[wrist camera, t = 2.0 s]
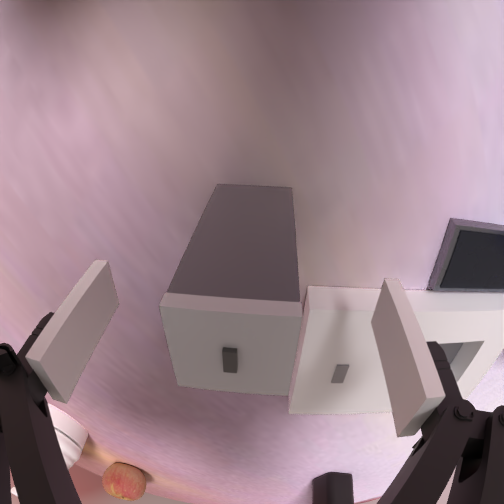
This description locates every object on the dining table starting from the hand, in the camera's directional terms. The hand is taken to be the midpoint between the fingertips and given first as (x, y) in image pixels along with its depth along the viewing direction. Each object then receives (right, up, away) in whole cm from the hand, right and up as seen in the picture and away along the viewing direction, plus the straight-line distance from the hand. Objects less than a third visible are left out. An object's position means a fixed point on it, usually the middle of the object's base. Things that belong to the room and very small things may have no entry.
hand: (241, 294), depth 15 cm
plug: (+1, +4, +6) cm, 7 cm away
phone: (+19, +2, +5) cm, 20 cm away
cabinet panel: (+14, -7, +11) cm, 20 cm away
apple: (-24, -42, +37) cm, 61 cm away
